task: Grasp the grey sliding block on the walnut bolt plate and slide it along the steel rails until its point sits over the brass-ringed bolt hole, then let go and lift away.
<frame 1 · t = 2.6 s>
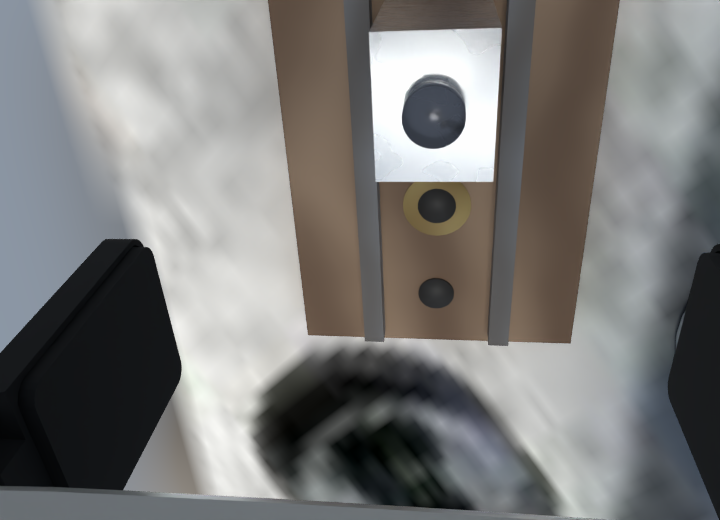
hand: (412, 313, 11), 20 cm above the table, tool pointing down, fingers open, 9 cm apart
bolt plate: (438, 91, 29), on the table
grey sliding block: (436, 84, 23), point 6 cm above the table, slide at 0.0 cm
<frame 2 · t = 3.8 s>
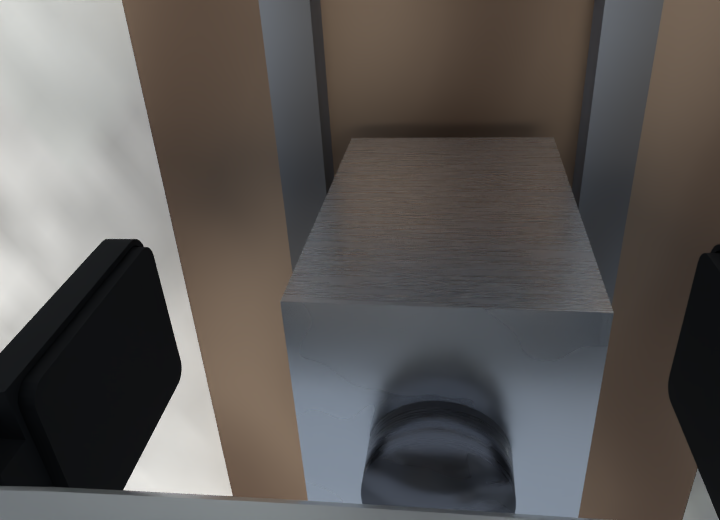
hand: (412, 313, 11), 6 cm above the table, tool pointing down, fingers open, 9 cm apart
bolt plate: (449, 260, 18), on the table
grey sliding block: (444, 327, 12), point 6 cm above the table, slide at 0.0 cm
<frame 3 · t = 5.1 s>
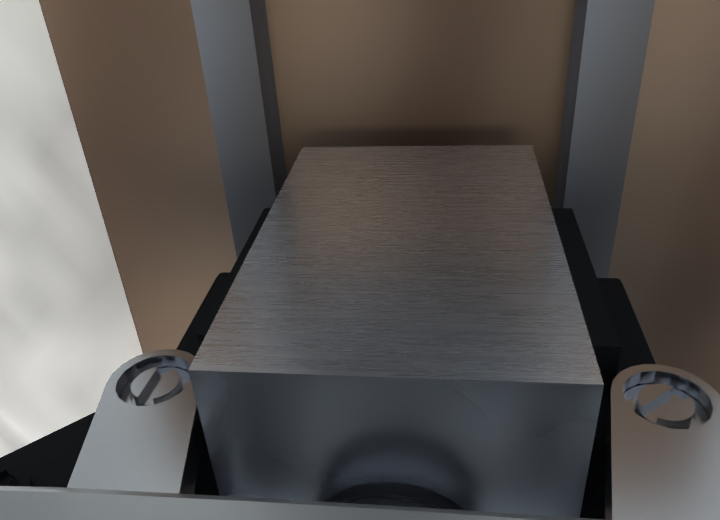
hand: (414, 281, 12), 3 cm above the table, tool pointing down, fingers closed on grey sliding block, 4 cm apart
bolt plate: (421, 276, 16), on the table
grey sliding block: (408, 369, 10), point 6 cm above the table, slide at 0.0 cm, touching gripper
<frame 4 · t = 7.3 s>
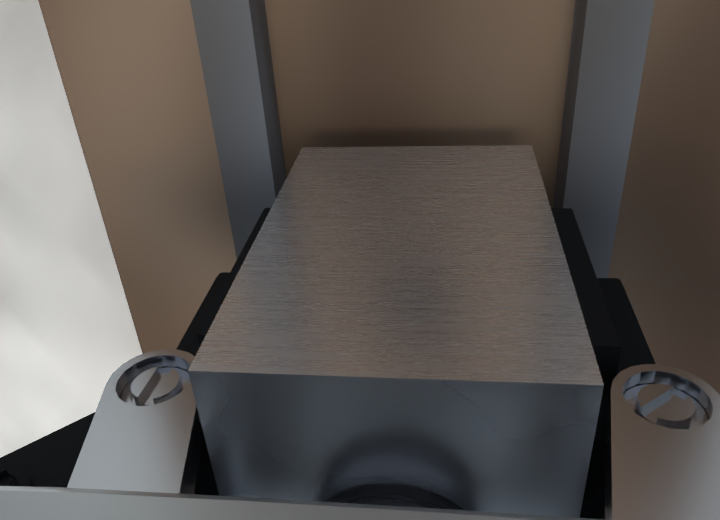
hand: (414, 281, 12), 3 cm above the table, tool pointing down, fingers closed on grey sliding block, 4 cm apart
grey sliding block: (408, 369, 10), point 6 cm above the table, slide at 7.0 cm, touching gripper
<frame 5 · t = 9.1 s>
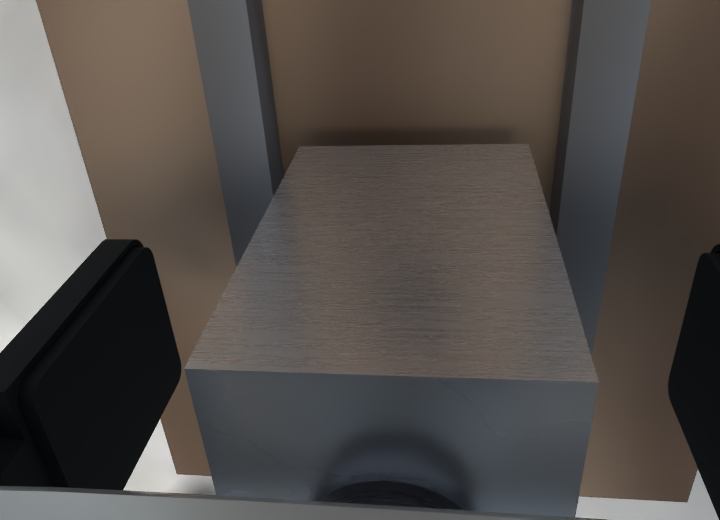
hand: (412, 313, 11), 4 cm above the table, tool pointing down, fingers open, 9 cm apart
grey sliding block: (405, 368, 10), point 6 cm above the table, slide at 7.0 cm
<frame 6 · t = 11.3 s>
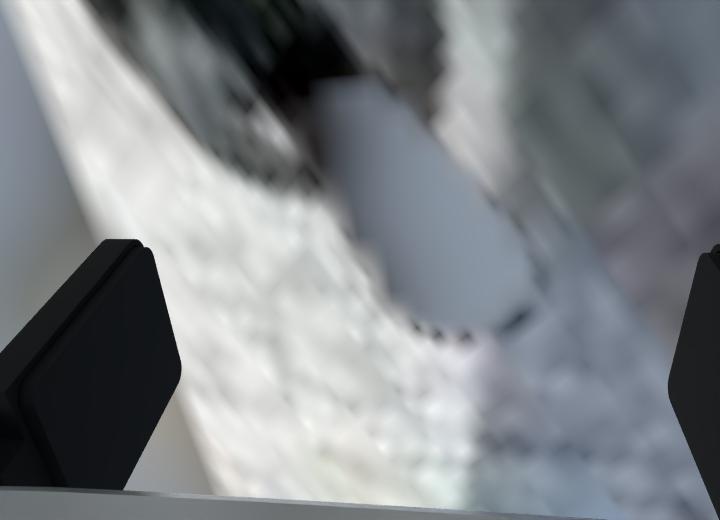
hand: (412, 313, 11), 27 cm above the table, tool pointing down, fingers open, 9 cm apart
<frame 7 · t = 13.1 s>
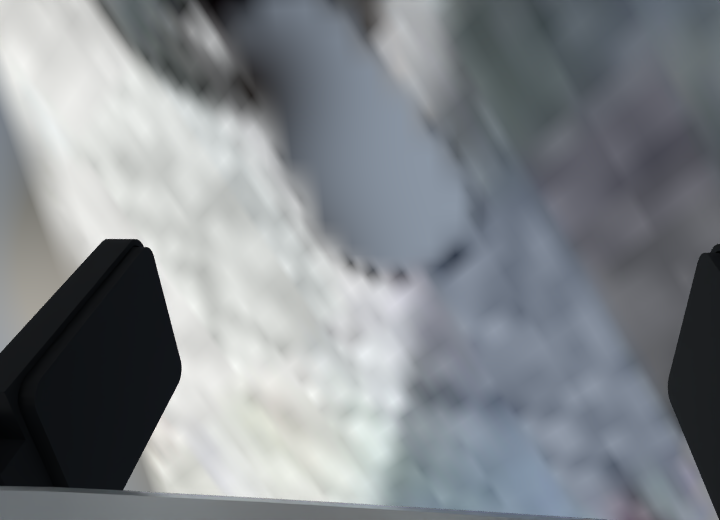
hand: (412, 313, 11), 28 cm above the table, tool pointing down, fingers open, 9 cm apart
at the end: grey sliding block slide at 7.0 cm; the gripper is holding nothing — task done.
